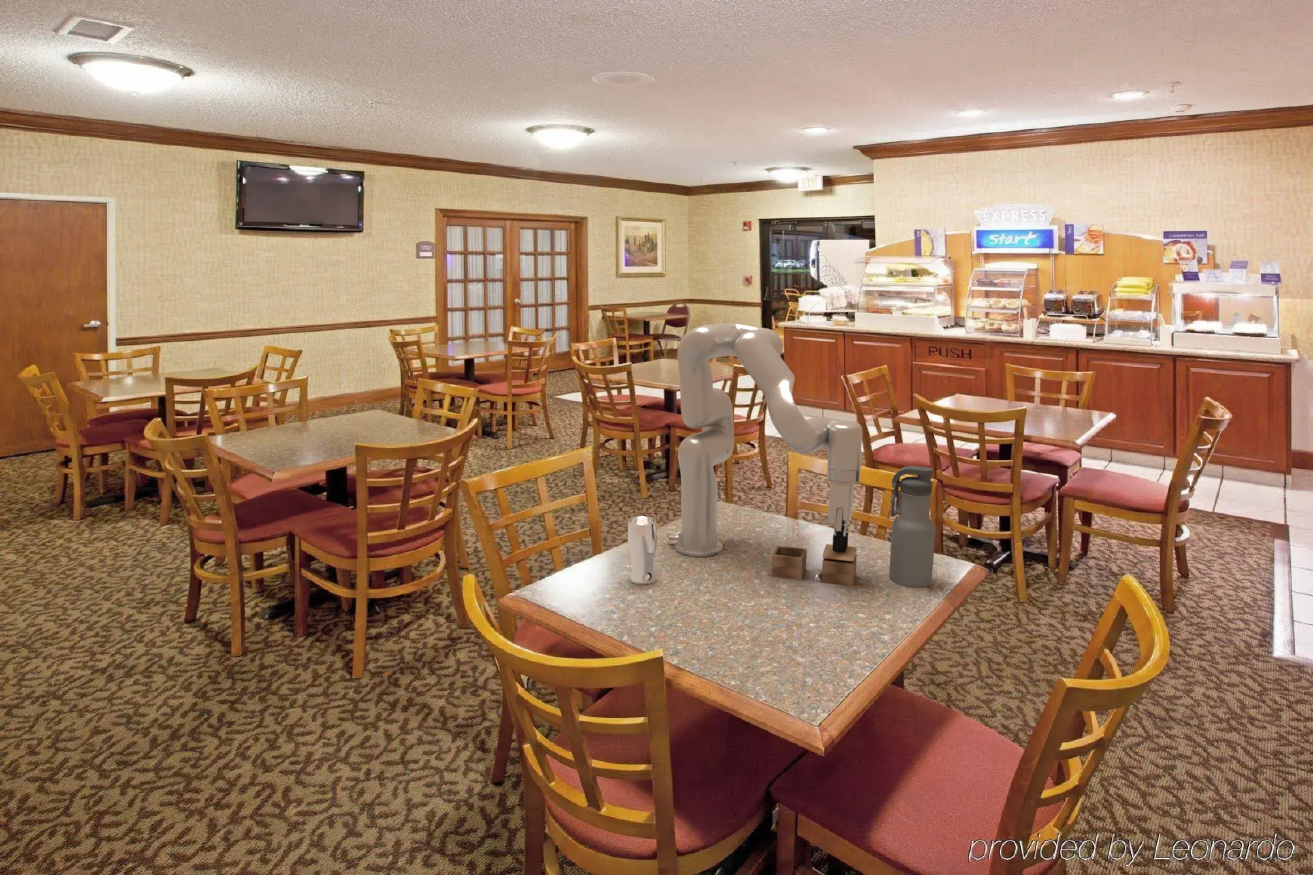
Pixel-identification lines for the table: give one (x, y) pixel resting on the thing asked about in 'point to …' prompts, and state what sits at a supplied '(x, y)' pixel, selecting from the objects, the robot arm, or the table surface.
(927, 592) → the table surface
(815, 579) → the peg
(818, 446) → the robot arm
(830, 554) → the lid
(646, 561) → the beer glass
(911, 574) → the water bottle
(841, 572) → the brown square open-topped box
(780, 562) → the brown open box
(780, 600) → the table surface
